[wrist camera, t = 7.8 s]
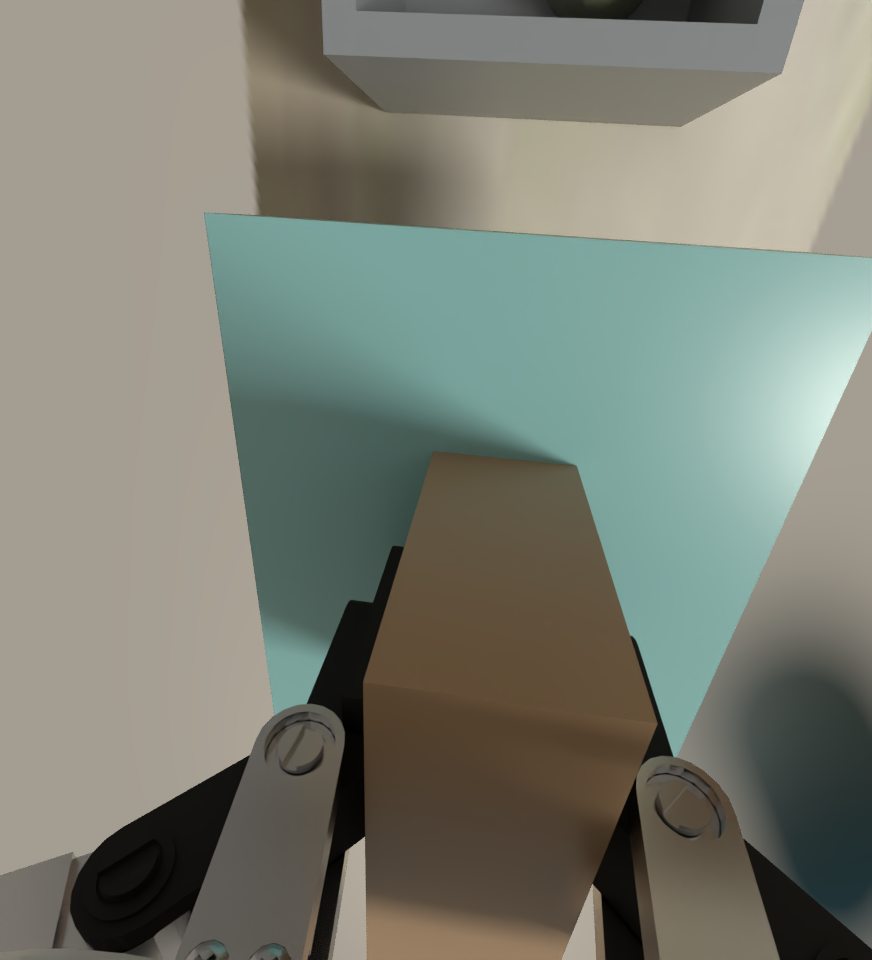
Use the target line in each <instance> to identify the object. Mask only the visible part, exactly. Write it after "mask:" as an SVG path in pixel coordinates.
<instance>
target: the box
mask: <svg viewBox="0 0 872 960" xmlns="http://www.w3.org/2000/svg"><path fill="white" fill-rule="evenodd" d="M321 2H322V28H323V54H324V55H325V56H326V57H327V58H328V59H329V60H330V61H331V62H332V63H333V64H334V65H335V66H336V67H337V68H339V69H340V70H341V71H342V72H343V73H344V74H345V75H346V76H347V77H348V78H349V79H350V80H351V81H352V82H354V83H355V84H356V85H357V86H358V87H359V88H360V89H361V90H362V91H363V92H364V93H365V94H366V95H368V96H369V97H370V98H371V99H372V100H373V101H374V102H375V103H376V104H377V105H378V106H379V107H380V108H381V109H383V110H384V111H385V112H395V113H415V114H435V115H455V116H476V117H496V118H516V119H536V120H556V121H576V122H596V123H616V124H637V125H657V126H677V127H681V126H683V125H685V124H687V123H689V122H691V121H693V120H694V119H696V118H698V117H700V116H702V115H704V114H706V113H708V112H710V111H711V110H713V109H715V108H717V107H719V106H721V105H723V104H725V103H726V102H728V101H730V100H732V99H734V98H736V97H738V96H740V95H742V94H743V93H745V92H747V91H749V90H751V89H753V88H755V87H757V86H759V85H760V84H762V83H764V82H766V81H768V80H770V79H772V78H774V77H776V76H777V75H779V74H781V73H782V71H783V68H784V64H785V61H786V58H787V55H788V51H789V48H790V45H791V42H792V38H793V35H794V32H795V28H796V25H797V22H798V19H799V15H800V12H801V9H802V6H803V2H804V0H321Z"/></svg>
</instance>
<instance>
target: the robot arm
mask: <svg viewBox="0 0 872 960" xmlns="http://www.w3.org/2000/svg"><path fill="white" fill-rule="evenodd" d="M403 549H404V547H401V546H392V548H391V551H390V554H389V557H388V559H387V562H386V565H385V568H384V571H383V574H382V577H381V580H380V583H379V586H378V589H377V592H376V595H375V598H374V601H373V602H365V601H357V600H350V601H349V602H348V604H347V606H346V608H345V610H344V613H343V615H342V618H341V620H340V623H339V625H338V627H337V630H336V632H335V635H334V637H333V640H332V642H331V645H330V647H329V650H328V652H327V655H326V657H325V660H324V662H323V665H322V667H321V669H320V672H319V674H318V677H317V679H316V682H315V684H314V687H313V689H312V692H311V694H310V697H309V699H308V702H307V704H301V705H296V706H293V707H290V708H287V709H284V710H283V711H281V712H279V713H278V714H276V715H275V716H273V717H272V718H271V719H270V720H269V721H268V722H267V723H266V724H265V725H264V726H263V728H262V729H261V731H260V733H259V735H258V737H257V739H256V741H255V744H254V746H253V749H252V752H251V754H250V755H249V756H247V757H246V758H244V759H242V760H240V761H238V762H237V763H235V764H233V765H231V766H230V767H228V768H226V769H224V770H223V771H221V772H219V773H217V774H216V775H214V776H212V777H210V778H209V779H207V780H205V781H203V782H202V783H200V784H198V785H196V786H195V787H193V788H191V789H189V790H188V791H186V792H184V793H182V794H180V795H179V796H177V797H175V798H174V799H172V800H170V801H168V802H167V803H165V804H163V805H161V806H159V807H158V808H156V809H154V810H153V811H151V812H149V813H147V814H145V815H144V816H142V817H140V818H138V819H137V820H135V821H133V822H131V823H130V824H128V825H126V826H124V827H123V828H121V829H120V830H118V831H117V832H115V833H114V834H113V835H111V836H110V837H108V838H107V839H106V840H105V841H104V842H103V843H102V844H101V845H100V846H99V847H98V848H97V849H96V850H95V851H94V852H92V853H90V854H86V855H83V856H80V857H77V858H76V856H75V854H74V853H73V852H71V853H68V854H65V855H62V856H59V857H56V858H53V859H50V860H47V861H43V862H40V863H37V864H35V865H31V866H28V867H25V868H22V869H19V870H16V871H13V872H9V873H7V874H3V875H0V960H332V957H333V951H334V945H335V938H336V932H337V925H338V918H339V912H340V906H341V900H342V893H343V887H344V881H345V874H346V868H347V861H348V854H349V848H350V847H352V846H353V845H354V844H356V843H357V842H358V841H360V840H361V839H362V838H363V837H365V786H364V712H363V681H364V677H365V674H366V671H367V668H368V664H369V661H370V658H371V654H372V651H373V648H374V645H375V641H376V638H377V635H378V631H379V628H380V625H381V622H382V618H383V615H384V612H385V608H386V605H387V602H388V599H389V595H390V592H391V589H392V586H393V582H394V579H395V576H396V572H397V569H398V566H399V563H400V559H401V556H402V553H403ZM630 637H631V640H632V644H633V647H634V650H635V653H636V656H637V659H638V663H639V666H640V669H641V672H642V675H643V679H644V682H645V685H646V688H647V691H648V695H649V698H650V701H651V704H652V707H653V711H654V714H655V717H656V720H657V723H658V724H657V727H656V729H655V731H654V734H653V736H652V739H651V741H650V744H649V746H648V749H647V751H646V753H645V756H644V758H643V761H642V763H641V766H640V768H639V771H638V773H637V775H636V778H635V780H634V783H633V785H632V788H631V790H630V793H629V795H628V798H627V800H626V802H625V805H624V807H623V810H622V812H621V815H620V817H619V820H618V822H617V824H616V827H615V829H614V832H613V834H612V837H611V839H610V842H609V844H608V846H607V849H606V851H605V854H604V856H603V859H602V861H601V864H600V866H599V868H598V871H597V873H596V876H595V878H594V881H593V883H592V884H593V904H594V923H595V941H596V960H872V949H871V948H870V947H868V946H867V945H866V944H865V943H864V942H863V941H862V940H860V939H859V938H858V937H857V936H856V935H855V934H853V933H852V932H851V931H850V930H849V929H848V928H847V927H845V926H844V925H843V924H842V923H841V922H840V921H838V920H837V919H836V918H835V917H834V916H833V915H831V914H830V913H829V912H828V911H827V910H826V909H824V908H823V907H822V906H821V905H820V904H819V903H818V902H816V901H815V900H814V899H813V898H812V897H811V896H809V895H808V894H807V893H806V892H805V891H804V890H802V889H801V888H800V887H799V886H798V885H797V884H796V883H794V882H793V881H792V880H791V879H790V878H789V877H787V876H786V875H785V874H784V873H783V872H782V871H780V870H779V869H778V868H777V867H776V866H775V865H773V864H772V863H771V862H770V861H769V860H768V859H767V858H765V857H764V856H763V855H762V854H761V853H760V852H758V851H757V850H756V849H755V848H754V847H753V846H751V845H750V844H749V843H748V842H747V841H746V840H745V839H743V836H742V833H741V829H740V826H739V823H738V820H737V816H736V813H735V811H734V809H733V806H732V804H731V802H730V800H729V798H728V796H727V795H726V794H725V792H724V791H723V790H722V789H721V787H720V785H719V784H718V783H717V782H716V781H715V780H714V779H713V778H711V777H710V776H709V775H708V774H707V773H706V772H705V771H703V770H702V769H700V768H699V767H697V766H695V765H693V764H692V763H690V762H688V761H685V760H682V759H680V758H677V757H674V756H673V753H672V750H671V747H670V744H669V741H668V738H667V734H666V731H665V728H664V725H663V722H662V719H661V716H660V712H659V709H658V706H657V703H656V700H655V697H654V694H653V690H652V687H651V684H650V681H649V678H648V675H647V672H646V668H645V665H644V662H643V659H642V656H641V653H640V650H639V647H638V644H637V642H636V639H635V638H634V637H633V636H630Z"/></svg>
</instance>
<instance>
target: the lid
mask: <svg viewBox="0 0 872 960" xmlns="http://www.w3.org/2000/svg"><path fill="white" fill-rule="evenodd" d="M204 216H205V223H206V229H207V236H208V244H209V251H210V259H211V266H212V273H213V280H214V287H215V294H216V301H217V309H218V315H219V322H220V330H221V337H222V344H223V351H224V358H225V366H226V373H227V380H228V387H229V394H230V401H231V408H232V416H233V422H234V430H235V437H236V444H237V451H238V459H239V466H240V472H241V480H242V487H243V494H244V501H245V508H246V515H247V523H248V530H249V537H250V544H251V551H252V558H253V566H254V573H255V580H256V587H257V594H258V600H259V608H260V615H261V623H262V630H263V637H264V643H265V651H266V658H267V666H268V673H269V680H270V687H271V694H272V701H273V708H274V716H275V715H276V714H278V713H279V712H281V711H283V710H284V709H287V708H290V707H293V706H296V705H301V704H307V702H308V699H309V697H310V694H311V692H312V689H313V687H314V684H315V682H316V679H317V677H318V674H319V672H320V669H321V667H322V665H323V662H324V660H325V657H326V655H327V652H328V650H329V647H330V645H331V642H332V640H333V637H334V635H335V632H336V630H337V627H338V625H339V623H340V620H341V618H342V615H343V613H344V610H345V608H346V606H347V604H348V602H349V601H350V600H357V601H365V602H373V601H374V598H375V595H376V592H377V589H378V586H379V583H380V580H381V577H382V574H383V571H384V568H385V565H386V562H387V559H388V557H389V554H390V551H391V548H392V546H401V547H404V549H403V553H402V556H401V559H400V563H399V566H398V569H397V572H396V576H395V579H394V582H393V586H392V589H391V592H390V595H389V599H388V602H387V605H386V608H385V612H384V615H383V618H382V622H381V625H380V628H379V631H378V635H377V638H376V641H375V645H374V648H373V651H372V654H371V658H370V661H369V664H368V668H367V671H366V674H365V677H364V681H363V712H364V786H365V856H366V857H365V858H366V925H367V926H366V927H367V928H366V929H367V930H366V932H367V960H561V959H562V957H563V954H564V952H565V949H566V947H567V944H568V942H569V939H570V937H571V935H572V932H573V930H574V927H575V925H576V922H577V920H578V917H579V915H580V913H581V910H582V907H583V905H584V903H585V900H586V898H587V895H588V893H589V890H590V888H591V886H592V883H593V881H594V878H595V876H596V873H597V871H598V868H599V866H600V864H601V861H602V859H603V856H604V854H605V851H606V849H607V846H608V844H609V842H610V839H611V837H612V834H613V832H614V829H615V827H616V824H617V822H618V820H619V817H620V815H621V812H622V810H623V807H624V805H625V802H626V800H627V798H628V795H629V793H630V790H631V788H632V785H633V783H634V780H635V778H636V775H637V773H638V771H639V768H640V766H641V763H642V761H643V758H644V756H645V753H646V751H647V749H648V746H649V744H650V741H651V739H652V736H653V734H654V731H655V729H656V727H657V724H658V723H657V720H656V717H655V714H654V711H653V707H652V704H651V701H650V698H649V695H648V691H647V688H646V685H645V682H644V679H643V675H642V672H641V669H640V666H639V663H638V659H637V656H636V653H635V650H634V647H633V644H632V640H631V637H630V636H633V637H634V638H635V639H636V642H637V644H638V647H639V650H640V653H641V656H642V659H643V662H644V665H645V668H646V672H647V675H648V678H649V681H650V684H651V687H652V690H653V694H654V697H655V700H656V703H657V706H658V709H659V712H660V716H661V719H662V722H663V725H664V728H665V731H666V734H667V738H668V741H669V744H670V747H671V750H672V753H673V756H674V757H677V755H678V753H679V750H680V748H681V746H682V743H683V742H684V739H685V737H686V735H687V733H688V731H689V728H690V726H691V724H692V722H693V720H694V718H695V715H696V713H697V711H698V709H699V707H700V704H701V702H702V700H703V698H704V696H705V693H706V691H707V689H708V687H709V685H710V683H711V680H712V678H713V676H714V674H715V672H716V669H717V667H718V665H719V663H720V661H721V659H722V656H723V654H724V652H725V650H726V648H727V645H728V643H729V641H730V639H731V637H732V635H733V632H734V630H735V628H736V626H737V624H738V621H739V619H740V617H741V615H742V613H743V610H744V608H745V606H746V604H747V602H748V600H749V597H750V595H751V593H752V591H753V588H754V587H755V584H756V582H757V580H758V578H759V576H760V573H761V571H762V569H763V567H764V565H765V562H766V560H767V558H768V556H769V554H770V551H771V549H772V547H773V545H774V543H775V541H776V538H777V536H778V534H779V532H780V530H781V527H782V525H783V523H784V521H785V519H786V516H787V514H788V512H789V510H790V508H791V506H792V503H793V501H794V499H795V497H796V495H797V493H798V490H799V488H800V486H801V484H802V482H803V479H804V477H805V475H806V473H807V471H808V468H809V466H810V464H811V462H812V460H813V458H814V455H815V453H816V451H817V449H818V447H819V444H820V442H821V440H822V438H823V436H824V433H825V431H826V429H827V427H828V425H829V423H830V420H831V418H832V416H833V414H834V412H835V410H836V407H837V405H838V403H839V401H840V399H841V396H842V394H843V392H844V390H845V388H846V385H847V383H848V381H849V379H850V377H851V374H852V372H853V370H854V368H855V366H856V363H857V361H858V359H859V357H860V355H861V353H862V351H863V348H864V346H865V344H866V342H867V339H868V337H869V335H870V333H871V331H872V258H871V257H858V256H846V255H835V254H823V253H809V252H794V251H780V250H765V249H750V248H735V247H721V246H706V245H691V244H676V243H661V242H647V241H632V240H617V239H602V238H587V237H573V236H558V235H543V234H528V233H514V232H499V231H484V230H469V229H454V228H440V227H425V226H410V225H395V224H381V223H366V222H351V221H336V220H321V219H307V218H292V217H277V216H262V215H241V214H238V215H237V214H219V213H204Z"/></svg>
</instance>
